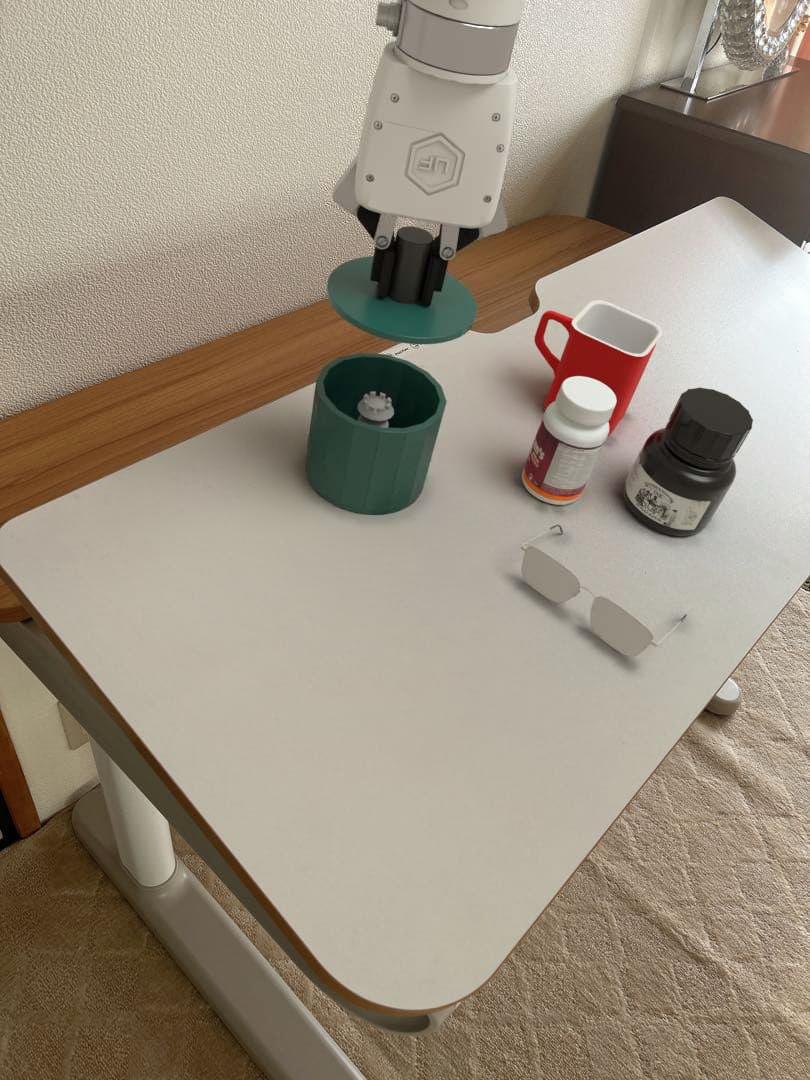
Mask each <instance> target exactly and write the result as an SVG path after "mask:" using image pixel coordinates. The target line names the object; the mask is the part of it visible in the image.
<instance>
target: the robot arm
mask: <svg viewBox="0 0 810 1080" xmlns="http://www.w3.org/2000/svg"><path fill="white" fill-rule="evenodd" d="M525 1H526V0H396V2H395V1H389V2H390V3H388V2H384V1H378V3H377V8H376V9H377V10H376V15H375V26H377V27H382V28H386V31H389V32H391V33H392V34H391V37H393V38H395V40H393V41H390V42H388V43H386V44H385V46H384V48H383V51H382V54H381V56H380V58H379V61H378V64H377V67H376V70H375V74H374V77H373V82H372V86H371V91H370V94H369V96H368V97H369V98H368V101H367V104H366V108H365V114H364V119H363V123H362V129H361V135H360V139H359V146H358V151H357V154H356V155H355V157H354V158H353V159H352V161H351V162H350V164H349V165H348V167H347V168H346V169H345V170H344V172H343V173H342V175H340V178H339V179H338V180H337V182H336V183H335V184H334V185H333V189H332V200H333V202H334V203H335V204H336V205H338V206H340V207H341V208H342V209H344V210H345V211H346V212H348V213H349V214H350V215H353V216H355V217H356V218H357V220H358V222H359V223H360V224H361V225H362V227H363V228H364V230H365V231H366V232H367V234H368V236H370V238H371V239H372V240H373V245H374V251H373V255H372V256H373V262H372V268H371V276H370V281H375V282H378V295H377V298H383V299H384V297H387V294H388V289H389V284H390V278H391V273H392V268H393V263H394V257H395V239H396V236H395V228H396V224H397V221H398V218H404V219H408V220H414V221H419V222H420V221H421V222H424V223H425V222H426V223H431V224H438V225H439V226H438V233H437V234H438V235H437V236H435V237H434V238H433V239H434V240H433V245H432V249H431V254H430V258H429V263H428V267H427V272H426V276H425V281H424V286H423V290H422V295H421V303H424V305H426V306H430V305H431V302H432V297H433V293H434V291H437V292H441V291H442V287H443V283H444V279H445V274H446V273H447V270H448V266H449V261H451V260H453V259H454V257H456V254H457V253H458V252H459V251H461V250H463V249H465V248H466V247H468V246H469V245H471V244H473V243H474V242H475V241H477V240H478V239H479V238H482V237H483V238H484V237H488V236H489V237H490V236H493V235H496V234H499V233H502V232H505V231H506V230H507V229H508V226H509V224H508V219H507V215H506V214H507V213H506V210H505V205H504V200H503V197H502V193H501V191H502V186H503V181H504V178H505V172H506V168H507V163H508V157H509V153H510V149H511V148H510V147H511V142H512V136H513V130H514V123H515V119H516V118H515V117H516V109H517V100H518V89H519V88H518V87H519V83H518V82H519V78H518V76H517V74H516V72H515V71H514V69H513V68H511V67H510V63H511V59H512V54H513V50H514V46H515V42H516V37H517V34H518V31H519V30H518V29H519V26H520V22H521V17H522V14H523V9H524V7H525V6H524V5H525Z"/></svg>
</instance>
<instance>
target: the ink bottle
mask: <svg viewBox="0 0 810 1080" xmlns="http://www.w3.org/2000/svg"><path fill="white" fill-rule="evenodd" d="M753 422H754V419H753V417H752V415H751V413H750V411H749V409H747V408H746V407H745V406H744V405H743V404H742V403H741V402H740V401H739V400H737V399H735V398H734V397H732V396H731V395H729V394H727V393H724V392H722V391H719V390H717V389H716V390H715V389H713V388H705V387H695V388H688V389H687V390H685V391H684V392H682V393H681V394H680V396H679V398H678V400H677V402H676V403H675V406H674V408H673V410H672V412H671V414H670V416H669V418H668V422H667V423H666V425H665V427H662V428H660V429H657V430H655V431H654V432H652V433H651V434H650V435H649V436H648V437H647V439H646V440H645V442H644V443H643V445H642V448H641V449H640V450H639V452H638V454H637V457H636V458H635V460H634V463H633V465H632V467H631V469H630V471H629V473H628V475H627V477H626V480H625V483H624V485H623V490H622V491H623V492H622V496H623V500H624V503H625V504H626V506H627V507H628V509H629V510H630V512H631V513H632V514H633V515H634V516H635V517H636V518H638V519H639V520H640V521H641V522H642V523H644V524H645V525H647V526H649V527H650V528H652V529H655V530H656V531H659V533H660V532H661V533H663V534H667V535H669V536H677V537H685V536H686V537H687V536H691V535H695V534H697V533H700V532H701V531H703V530H705V528H706V527H707V526H708V525H709V523H710V522H711V520H712V519H713V518H714V515H715V513H716V512H717V510H718V509H719V507H720V505H721V503H722V502H723V500H725V499H724V498H725V497H726V495H727V493H728V492H729V490H730V489H731V487H732V485H733V483H734V481H735V479H736V476H737V466H736V462H735V460H734V458H735V457H736V455H737V454H738V453H739V451H740V449H741V448H742V446H743V445H744V442H745V440H747V437H748V435H750V433H751V430H752V428H753Z"/></svg>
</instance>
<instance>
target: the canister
mask: <svg viewBox="0 0 810 1080" xmlns="http://www.w3.org/2000/svg"><path fill="white" fill-rule="evenodd" d="M374 391H375V392H376V395H375V396H380V393H384V394H386V396H385V399H386V400H387V398H389V397H390V399H391V400H392V402H391V406H392V407H393V409H394V415H393V416H392V417H391V418H390V419H388V420H387V421H388V423H389V424H388V428H380V427H377V426H373V425H370V424H366V423H363V422H359V421H358V417H359V416H360V415H361V414H360V412H359V410H358V409H357V407H358V403H359V402H360V401H361V400H362V399H363V397H364V395H365V394H368V395H370V392H374ZM312 401H313V402H312V407H311V415H310V421H309V422H310V423H309V428H308V435H307V436H308V437H307V443H306V450H305V456H304V457H305V458H304V460H305V473H306V474H305V475H306V477H307V480H308V482H309V483H310V485H311V487H312V489H314V491H315V492H316V493H317V494H318V495H319V496H321V497H322V499H324V500H326V501H327V502H329V503H331V504H332V505H334V506H336V507H338V508H341V509H342V510H346V511H349V512H352V513H356V514H363V515H372V516H373V515H374V516H376V515H386V514H393V513H396V512H399V511H402V510H404V509H406V508H408V507H410V506H411V505H412V504H414V503H415V502H416V501H417V500H418V498H419V497H420V496H421V494H422V493H423V489H424V486H425V483H426V480H427V477H428V476H427V475H428V472H429V469H430V465H431V461H432V457H433V454H434V450H435V446H436V443H437V439H438V435H439V432H440V428H441V424H442V421H443V417H444V414H445V409H446V405H447V398H446V396H445V393H444V390H443V387H442V385H441V384H440V382H438V381H437V379H435V378H434V377H433V376H432V375H431V374H430V372H429V371H427V370H426V369H423V368H422V367H420V366H417V365H416V364H414V363H412V362H411V361H409V360H407V359H404V358H399V357H395V356H392V355H388V354H385V353H371V352H370V353H368V352H356V353H352V354H347V355H343V356H339V357H336V358H335V359H333V360H332V361H330V362H329V363H327V364H325V365H323V367H322V368H321V370H320V372H319V374H318V376H317V378H316V379H315V387H314V393H313V400H312Z"/></svg>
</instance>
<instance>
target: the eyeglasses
mask: <svg viewBox="0 0 810 1080" xmlns="http://www.w3.org/2000/svg"><path fill="white" fill-rule="evenodd" d="M557 527H559V531H560V534H561V535H563V534H564V531H563V528H562V526H561V524H555V525H553V526H551V527H549V528H548V529H546V530H545V531H543V532H541V533H539V534H537V535H536V536H534V537H533V538H531V539H529V540H527V541H526V542H524V543H522V544H521V546H520V549H521V550H522V551H523V552H524V554H523V558H522V563H521V575H522V577H523V579H524V581H525V582H526V583H527V584H528V585H529V587H531V588H533V589H534V590H535V591H536V592H537V593H538V594H540V595H542V596H543V597H545V598H546V599H548V600H550V601H552V602H554V603H557V604H563V603H566V602H568V601H570V600H571V599H573V598H575V597H577V596H578V595H580V593H581V592H582V589H584V590H586V591H588V592H589V593H590V594H591V595H592V596H593V598H594V599H593V601H592V605H591V608H590V614H589V615H590V618H589V620H590V626H591V628H592V630H593V632H594V633H595V634H596V635H597V636H598V637H599V638H600V639H601V640H602V641H604V643H606V644H607V645H608V646H609V647H611V648H613V649H614V650H615V651H617V652H618V653H620V654H622V655H623V656H626V657H629V658H630V657H631V658H634V657H637V656H638V655H640V654H641V653H643V652H644V651H645V650H646V649H647V648H648V647H649V646H650V645H652V646H654V647H658V646H660V645H661V644H662V642H664V641H665V640H666V639H667V638H668V637H669V635H670V634H671V633H672V632H674V630H675V629H676V628H677V627H678V626H679V625H680V624H681V623H682V622H683V621H684V620H685V619H686V618H687V616H688V614H687V613H685V614H684V615H683V617H681V619H680V620H679V622H678V623H677V624H676V625H675V626H674V627H672V628H671V630H670V631H668V632H667V633H666V634H665V635H664V636H663V637H662V638H661V639H660V640H659V641H658V642H656V641H654V633H653V632H652V630H651V629H650V628H649V627H648V626H647V625H645V624H644V623H643V622H642V621H640V619H638V618H637V617H636V616H634V615H633V614H632V613H630V612H629V611H628V610H627V609H625V608H624V607H623V606H621V605H620V604H618V603H617V602H615V601H613V600H612V599H610V598H608V597H606V596H603V595H598V596H597V595H595V592H593V591H592V590H591V589H589V587H586V586H583V585H581V584H582V583H581V581H580V579H579V577H578V576H577V575H576V574H575V573H574V572H573V571H572V570H571V569H570V568H568V567H567V566H566V565H565V564H562V562H560V561H559V560H557V559H556V558H555V557H553V556H551V555H550V554H548V553H546V552H545V551H543V550H542V549H540V548H539V547H537V546H534V545H529V544H530V543H531V542H533V541H535V540H537V539H538V538H539V537H541V536H543V535H545V533H547V532H549V531H551V530H553V529H555V528H557ZM527 545H528V546H527ZM525 546H527V547H525Z"/></svg>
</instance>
